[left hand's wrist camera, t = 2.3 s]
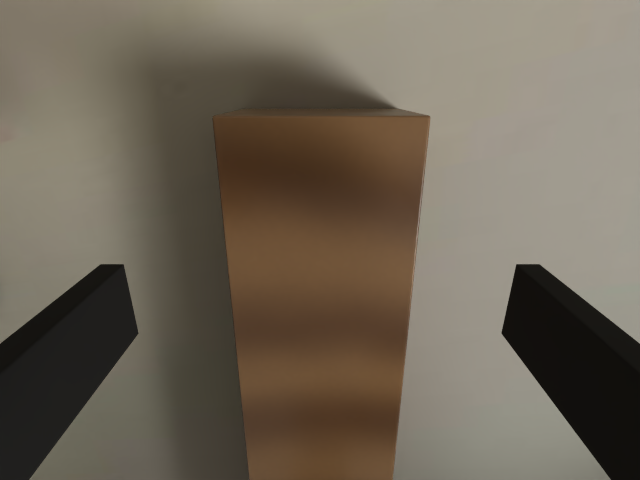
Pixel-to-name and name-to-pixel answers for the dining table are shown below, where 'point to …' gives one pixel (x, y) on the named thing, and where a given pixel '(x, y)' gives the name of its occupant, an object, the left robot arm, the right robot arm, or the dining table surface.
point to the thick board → (321, 282)
